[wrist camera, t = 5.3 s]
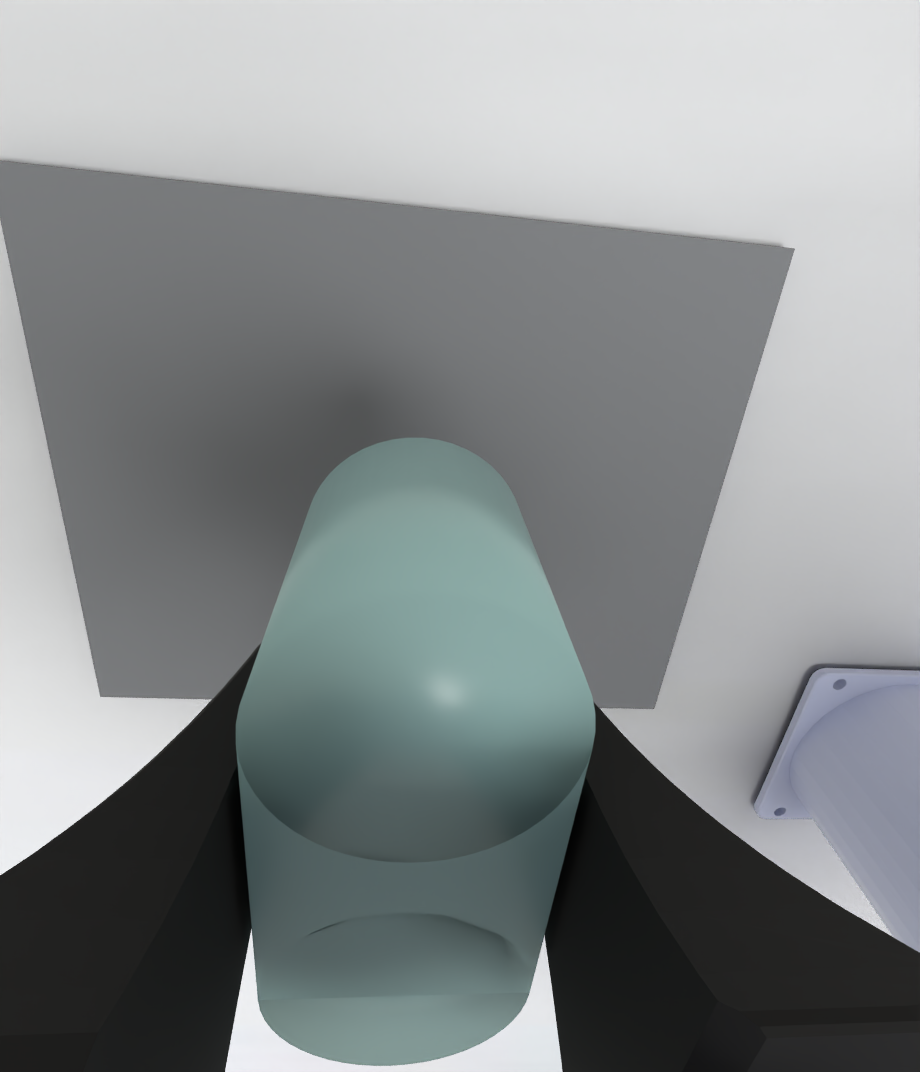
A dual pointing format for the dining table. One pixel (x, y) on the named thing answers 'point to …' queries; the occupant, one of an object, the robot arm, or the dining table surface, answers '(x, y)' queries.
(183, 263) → the charcoal mat
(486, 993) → the teal plug
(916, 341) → the dining table surface
